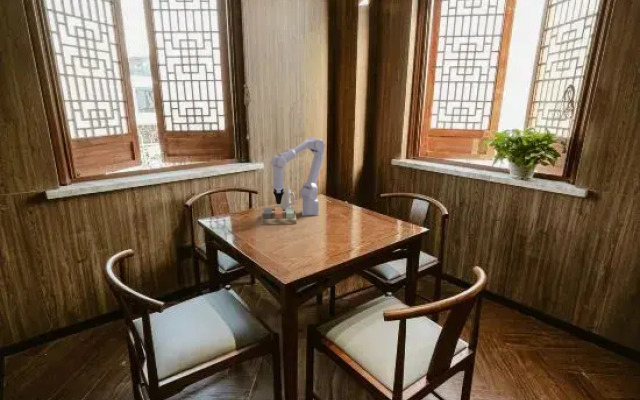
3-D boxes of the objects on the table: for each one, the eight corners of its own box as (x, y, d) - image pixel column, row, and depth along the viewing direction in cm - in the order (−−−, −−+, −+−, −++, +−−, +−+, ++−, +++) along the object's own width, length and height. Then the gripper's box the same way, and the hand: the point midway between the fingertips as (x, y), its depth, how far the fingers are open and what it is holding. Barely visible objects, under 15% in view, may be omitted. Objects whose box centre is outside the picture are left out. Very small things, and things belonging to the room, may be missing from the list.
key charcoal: (271, 214, 199) (271, 207, 198) (271, 220, 188) (271, 213, 187) (264, 214, 198) (264, 207, 197) (263, 220, 188) (263, 213, 187)
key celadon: (292, 214, 200) (292, 207, 199) (293, 220, 190) (293, 213, 189) (285, 214, 200) (285, 207, 199) (286, 220, 189) (286, 213, 188)
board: (295, 215, 203) (295, 211, 202) (296, 223, 188) (296, 219, 188) (262, 215, 200) (262, 211, 200) (261, 224, 186) (261, 219, 185)
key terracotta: (282, 214, 199) (282, 207, 198) (282, 220, 189) (282, 213, 188) (275, 214, 199) (275, 207, 198) (275, 220, 188) (275, 213, 187)
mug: (277, 209, 213) (277, 190, 210) (282, 206, 219) (282, 187, 216) (292, 211, 209) (292, 192, 206) (297, 208, 215) (297, 189, 212)
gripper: (271, 175, 194) (271, 198, 198) (270, 181, 181) (271, 206, 184) (283, 175, 195) (283, 198, 199) (284, 181, 181) (284, 206, 185)
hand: (278, 202), depth 192 cm, fingers open, 5 cm apart
